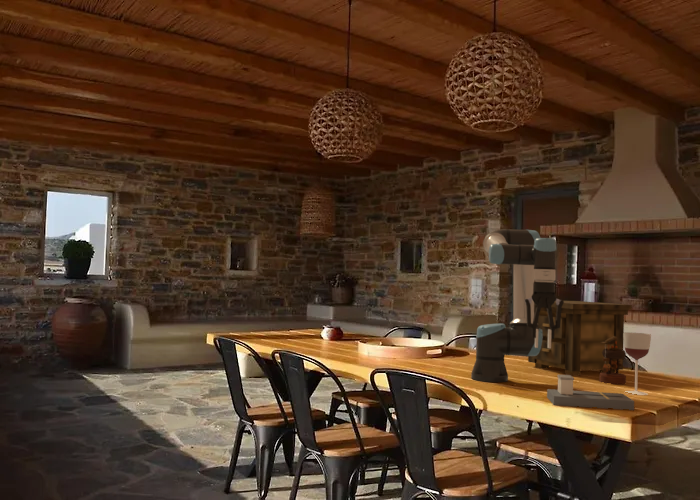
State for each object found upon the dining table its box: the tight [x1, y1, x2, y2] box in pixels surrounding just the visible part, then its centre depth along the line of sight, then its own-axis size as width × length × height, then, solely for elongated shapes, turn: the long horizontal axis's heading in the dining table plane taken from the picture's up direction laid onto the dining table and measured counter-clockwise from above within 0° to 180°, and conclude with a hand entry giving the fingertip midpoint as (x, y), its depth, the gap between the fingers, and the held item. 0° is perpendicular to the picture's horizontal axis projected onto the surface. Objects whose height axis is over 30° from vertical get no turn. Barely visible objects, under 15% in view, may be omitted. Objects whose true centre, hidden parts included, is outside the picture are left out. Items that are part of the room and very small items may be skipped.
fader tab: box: [557, 374, 575, 395], centre depth 221 cm, size 4×6×6 cm
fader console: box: [546, 388, 635, 411], centre depth 220 cm, size 26×14×3 cm, turn 82°
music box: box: [599, 336, 627, 385], centre depth 270 cm, size 15×11×20 cm
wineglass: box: [623, 332, 652, 396], centre depth 245 cm, size 9×10×23 cm
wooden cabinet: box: [527, 300, 633, 376], centre depth 302 cm, size 35×35×33 cm
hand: (542, 347), depth 223 cm, fingers open, 4 cm apart
